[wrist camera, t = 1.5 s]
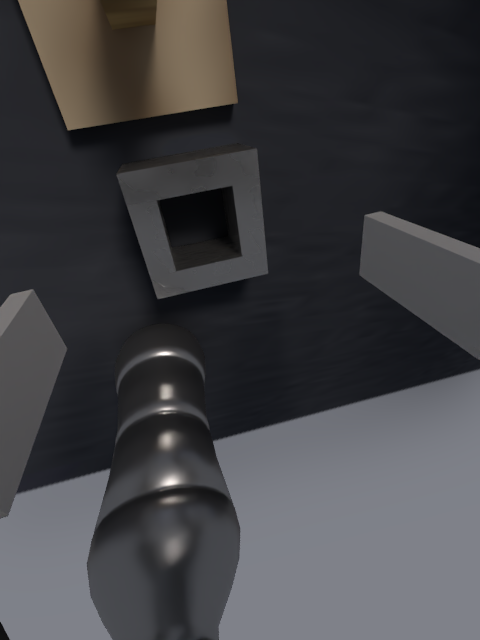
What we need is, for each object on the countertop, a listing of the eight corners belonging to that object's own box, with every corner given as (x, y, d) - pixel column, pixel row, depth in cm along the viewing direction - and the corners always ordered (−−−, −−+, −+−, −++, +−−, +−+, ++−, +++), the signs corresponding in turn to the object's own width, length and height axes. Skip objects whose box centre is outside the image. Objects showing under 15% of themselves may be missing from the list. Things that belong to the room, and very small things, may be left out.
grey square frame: (238, 143, 19) (256, 148, 16) (251, 251, 23) (268, 273, 20) (122, 163, 18) (116, 174, 15) (156, 272, 22) (157, 299, 19)
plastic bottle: (216, 341, 27) (322, 697, 10) (161, 389, 28) (178, 769, 12) (158, 296, 23) (179, 725, 7) (99, 353, 24) (-4, 824, 8)
